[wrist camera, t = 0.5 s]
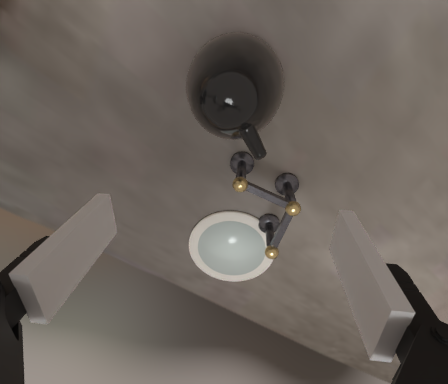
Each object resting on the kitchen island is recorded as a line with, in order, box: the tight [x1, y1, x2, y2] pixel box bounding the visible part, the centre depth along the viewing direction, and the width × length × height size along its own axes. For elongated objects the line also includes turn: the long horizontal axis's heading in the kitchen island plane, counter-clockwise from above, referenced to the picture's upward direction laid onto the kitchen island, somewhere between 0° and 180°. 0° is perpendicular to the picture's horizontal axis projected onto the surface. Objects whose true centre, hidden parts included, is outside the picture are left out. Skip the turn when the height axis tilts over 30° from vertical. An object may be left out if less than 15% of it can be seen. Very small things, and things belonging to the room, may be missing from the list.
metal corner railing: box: [230, 152, 301, 259], centre depth 37 cm, size 11×10×8 cm
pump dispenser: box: [186, 32, 284, 160], centre depth 27 cm, size 10×10×15 cm
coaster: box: [189, 211, 273, 281], centre depth 45 cm, size 14×14×1 cm
